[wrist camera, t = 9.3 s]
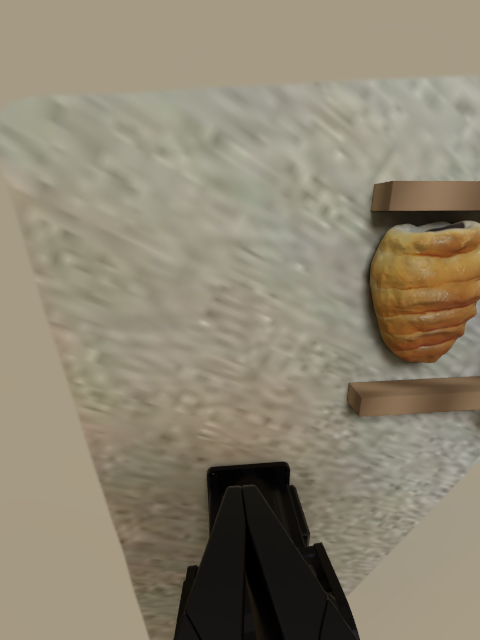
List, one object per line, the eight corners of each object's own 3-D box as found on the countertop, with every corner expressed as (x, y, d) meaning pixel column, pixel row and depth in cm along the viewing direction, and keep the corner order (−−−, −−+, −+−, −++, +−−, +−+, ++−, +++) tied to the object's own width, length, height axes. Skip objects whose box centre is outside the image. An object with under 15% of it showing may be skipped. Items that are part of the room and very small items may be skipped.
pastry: (451, 346, 23) (495, 371, 19) (362, 359, 23) (390, 387, 19) (466, 213, 20) (522, 213, 16) (363, 227, 20) (397, 230, 16)
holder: (347, 400, 23) (381, 447, 19) (374, 184, 18) (430, 174, 14) (494, 392, 24) (562, 434, 20) (557, 185, 19) (668, 176, 15)
